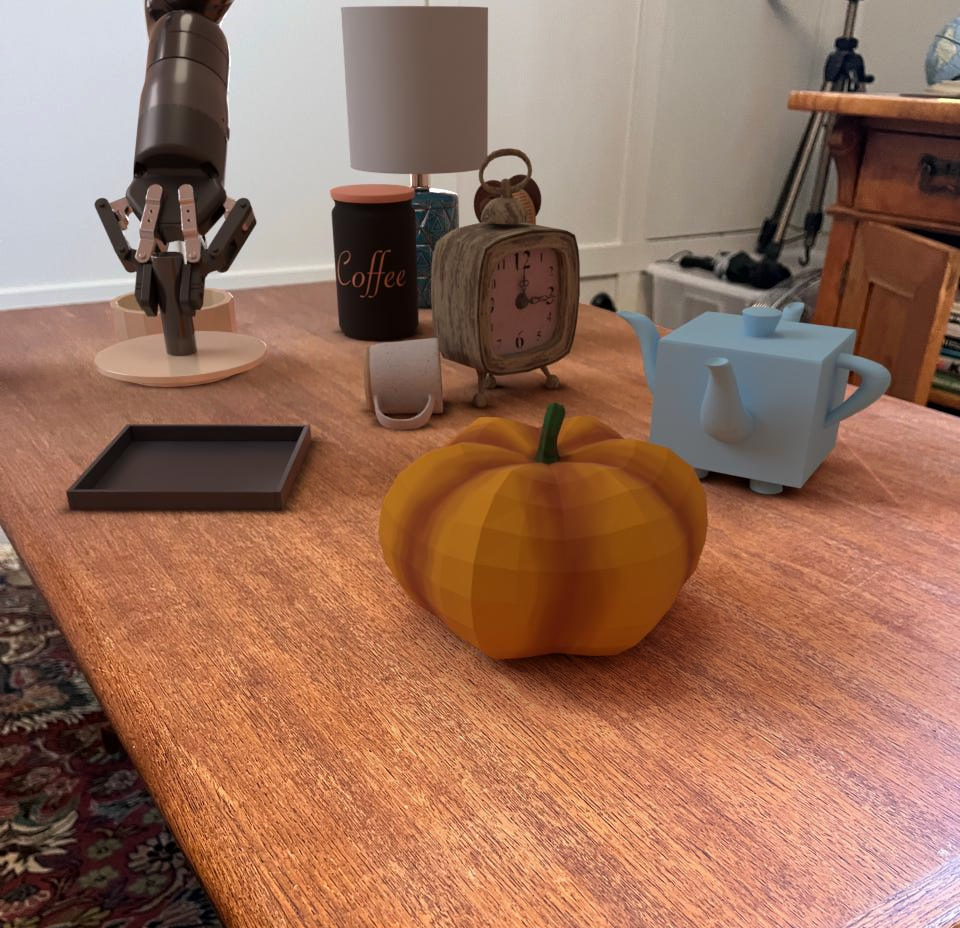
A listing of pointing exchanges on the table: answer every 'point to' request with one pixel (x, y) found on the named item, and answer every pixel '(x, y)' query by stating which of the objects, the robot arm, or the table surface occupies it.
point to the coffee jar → (375, 261)
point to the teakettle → (753, 392)
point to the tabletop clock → (505, 290)
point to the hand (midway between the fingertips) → (168, 310)
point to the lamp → (418, 105)
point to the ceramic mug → (403, 381)
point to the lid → (178, 342)
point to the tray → (194, 468)
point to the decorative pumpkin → (545, 535)
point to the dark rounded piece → (527, 196)
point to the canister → (137, 324)
